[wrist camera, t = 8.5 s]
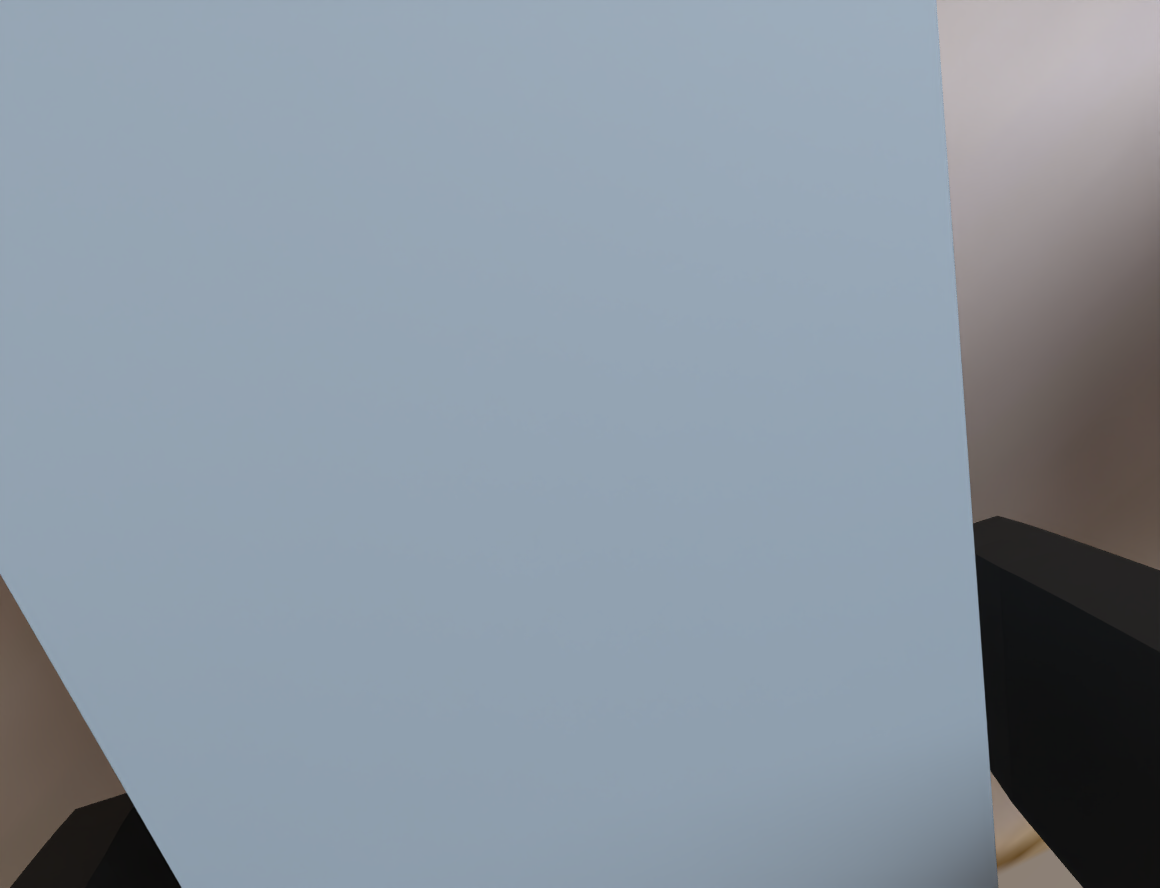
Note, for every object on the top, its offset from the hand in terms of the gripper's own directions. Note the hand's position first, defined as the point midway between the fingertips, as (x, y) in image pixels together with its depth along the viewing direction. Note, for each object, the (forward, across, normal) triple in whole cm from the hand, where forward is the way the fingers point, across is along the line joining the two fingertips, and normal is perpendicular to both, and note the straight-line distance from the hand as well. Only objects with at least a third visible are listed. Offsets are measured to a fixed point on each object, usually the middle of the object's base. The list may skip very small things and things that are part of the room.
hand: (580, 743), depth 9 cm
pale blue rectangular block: (+2, 0, 0) cm, 2 cm away
